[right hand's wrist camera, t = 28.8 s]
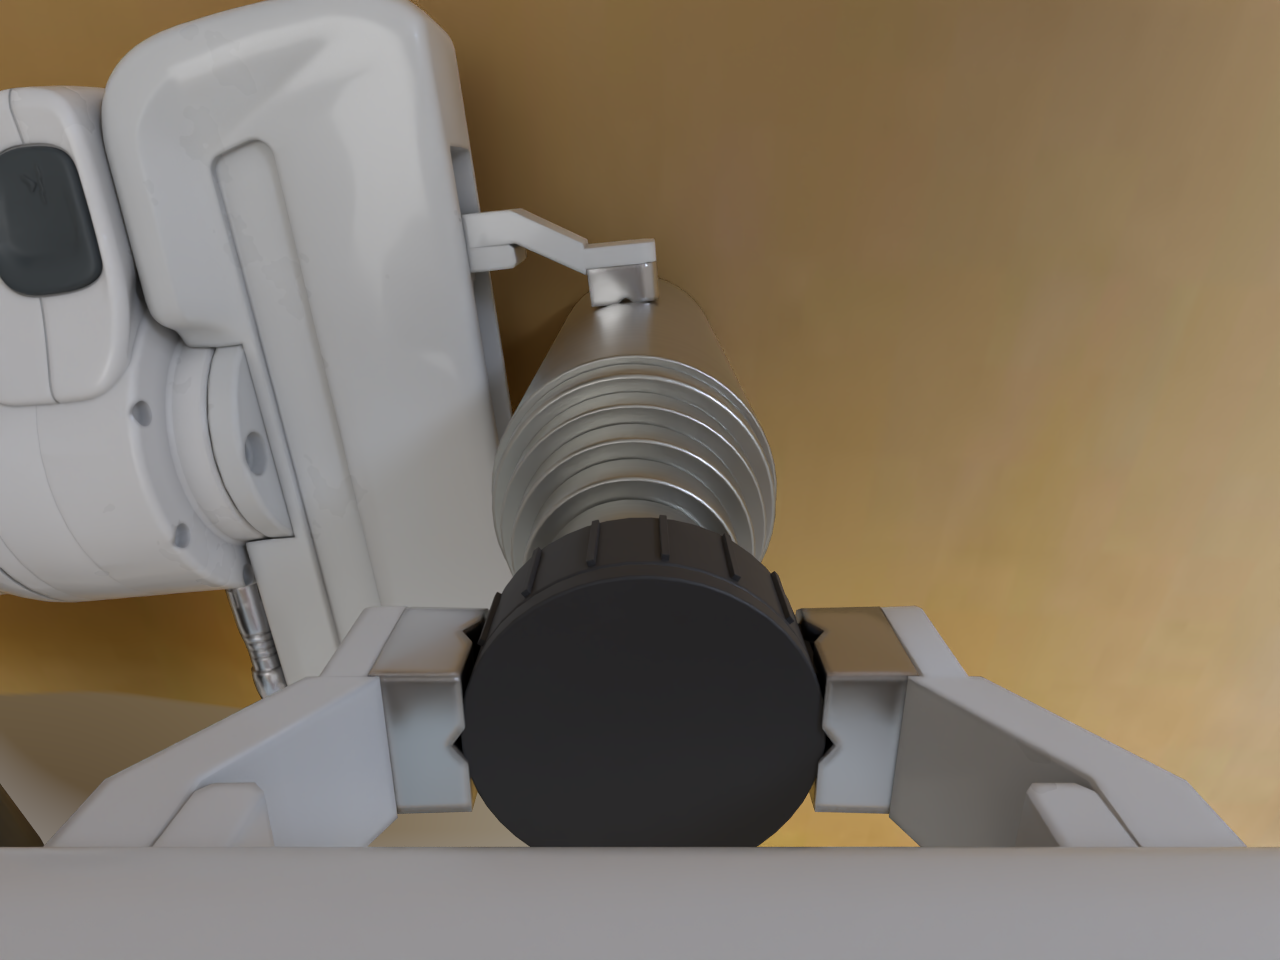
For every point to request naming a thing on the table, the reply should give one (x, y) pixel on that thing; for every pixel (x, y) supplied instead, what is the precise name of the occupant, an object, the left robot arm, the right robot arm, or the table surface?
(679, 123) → the table surface
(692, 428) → the bottle
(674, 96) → the table surface
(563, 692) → the cap
